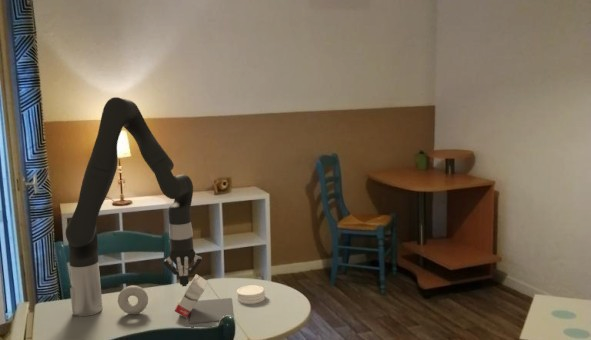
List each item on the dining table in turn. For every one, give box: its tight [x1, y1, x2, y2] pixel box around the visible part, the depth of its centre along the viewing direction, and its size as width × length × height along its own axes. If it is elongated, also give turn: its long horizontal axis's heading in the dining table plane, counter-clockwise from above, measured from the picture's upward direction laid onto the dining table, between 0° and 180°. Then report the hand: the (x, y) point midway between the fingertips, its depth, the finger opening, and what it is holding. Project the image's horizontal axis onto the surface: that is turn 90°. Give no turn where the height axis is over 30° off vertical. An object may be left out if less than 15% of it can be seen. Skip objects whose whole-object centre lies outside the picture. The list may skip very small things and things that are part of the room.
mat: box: [189, 297, 234, 325], centre depth 191 cm, size 14×18×1 cm
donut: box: [117, 284, 149, 315], centre depth 190 cm, size 10×4×10 cm, turn 94°
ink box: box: [174, 273, 208, 319], centre depth 189 cm, size 9×5×12 cm
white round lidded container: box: [236, 284, 266, 305], centre depth 201 cm, size 10×10×4 cm
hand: (184, 285), depth 189 cm, fingers closed
